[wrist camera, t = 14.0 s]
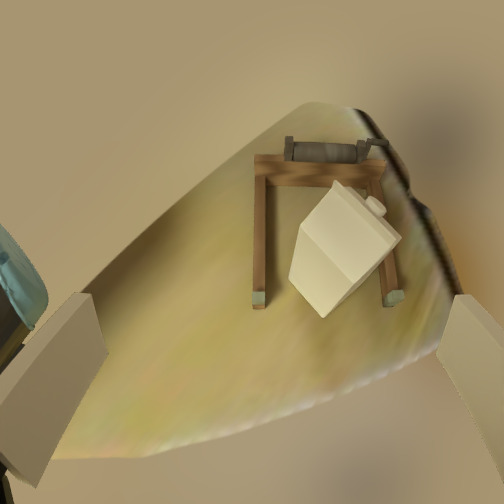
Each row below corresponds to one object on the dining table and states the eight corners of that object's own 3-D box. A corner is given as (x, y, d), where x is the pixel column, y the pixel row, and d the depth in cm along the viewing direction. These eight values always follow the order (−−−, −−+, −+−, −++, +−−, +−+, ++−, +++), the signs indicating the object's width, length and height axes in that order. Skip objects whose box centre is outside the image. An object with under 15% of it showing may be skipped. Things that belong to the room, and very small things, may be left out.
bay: (253, 309, 41) (249, 284, 31) (255, 175, 49) (253, 126, 39) (392, 306, 40) (428, 282, 30) (372, 179, 48) (392, 134, 38)
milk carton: (322, 319, 40) (367, 267, 22) (287, 278, 42) (303, 202, 25) (360, 285, 41) (419, 216, 24) (325, 247, 44) (361, 161, 26)
